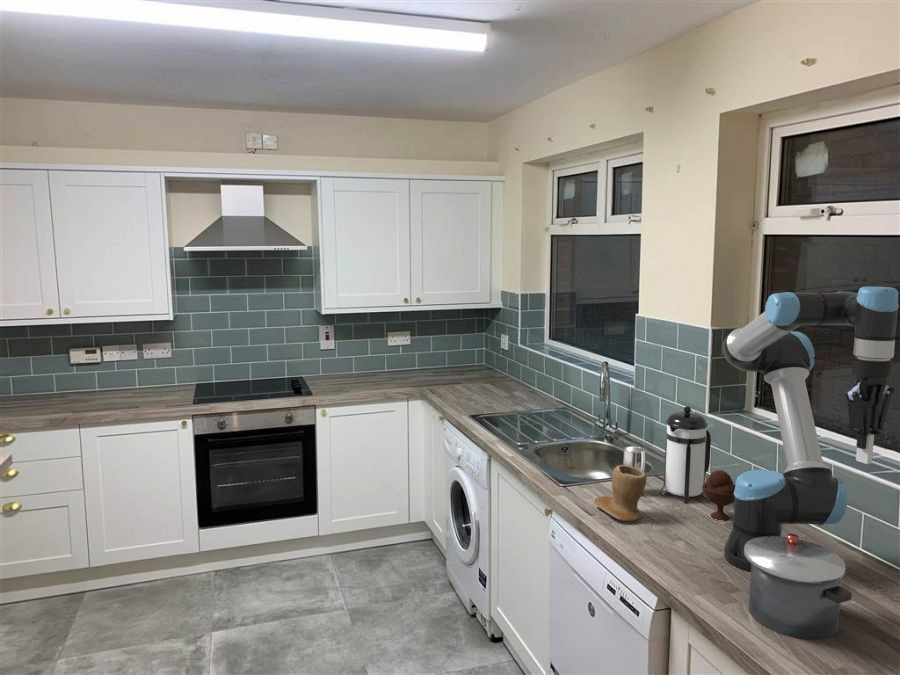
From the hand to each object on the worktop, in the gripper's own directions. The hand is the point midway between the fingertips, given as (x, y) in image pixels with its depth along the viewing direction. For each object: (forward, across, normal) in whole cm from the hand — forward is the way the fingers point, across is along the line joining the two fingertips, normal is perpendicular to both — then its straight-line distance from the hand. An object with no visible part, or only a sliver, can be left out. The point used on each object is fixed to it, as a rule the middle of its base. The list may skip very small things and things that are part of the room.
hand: (863, 461), depth 153 cm
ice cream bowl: (+35, -9, -50) cm, 62 cm away
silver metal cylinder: (+35, +2, -77) cm, 85 cm away
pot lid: (+21, +17, -2) cm, 27 cm away
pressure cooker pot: (+34, +15, -2) cm, 38 cm away
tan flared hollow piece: (+35, +16, -64) cm, 75 cm away
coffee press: (+35, -13, -69) cm, 78 cm away
